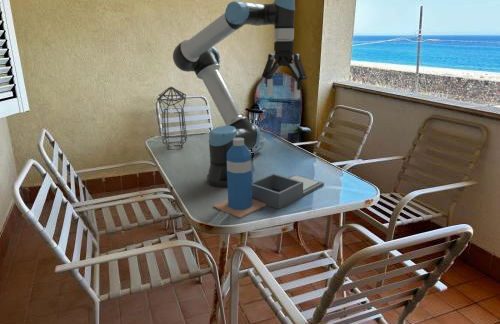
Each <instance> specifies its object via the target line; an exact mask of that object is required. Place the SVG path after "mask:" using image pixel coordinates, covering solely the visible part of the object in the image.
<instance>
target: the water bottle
mask: <svg viewBox="0 0 500 324" xmlns="http://www.w3.org/2000/svg"><path fill="white" fill-rule="evenodd" d="M252 177H253V176H252V154H251V152H250V151H249V149H248V148H247V147H246V145H245V144H244V138H234V139H233V145H232V147H231V148H230V149H229V151H228V152H227V183H228V187H227V199H228V207H230V208H232V209H234V210H245V209H247V208H250V207H252V182H253V180H252Z"/></svg>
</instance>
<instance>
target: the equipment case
mask: <svg viewBox="0 0 500 324" xmlns="http://www.w3.org/2000/svg"><path fill="white" fill-rule="evenodd" d="M323 186H325V182H323V181H319V180H316V179H312V178H308V177H305V176H301V175H297V174H294V175H291V176H289V177H286V176H284V175H283V176H282V175H280V174H275V173H271V174H268V175H266V176H263V177H261V178H259V179H256V180H254V181H252V199H254V200H257V201H260V202H263V203H265V204H267V205H266V206H269V207H272V208H275V209H277V210H280V209H282V208H284V207H286V206H287V205H289V204H292V203H293V202H295V201H297V200H299V199H301V198H303V197H304V196H307V195H308V194H310V193H312V192H314V191H317V190H318V189H320V188H322V187H323ZM273 189H275V190H277V191H275V190H273Z"/></svg>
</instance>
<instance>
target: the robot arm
mask: <svg viewBox="0 0 500 324" xmlns="http://www.w3.org/2000/svg"><path fill="white" fill-rule="evenodd" d="M273 2H274V3H256V2H255V3H254V2H247V1H242V0H233V1H231V2H229V3H228V4H227V6H226V8H225V10H224V11H225V12H224V13H223V14H221V15H220V16H219V17H217V18H216V19H215V20H213V21H212V22H211V23H209V24H207V26H205V27H204V28H203V29H201V30H200V31H199V32H197V33H196V34H195V35H193V36H192V37H191V38H189V39H184V40H183V41H181V42H180V43H179V44H178V45H177V46H176V47H175V49H174V50H173V52H172V60H173V63H174V65H175V66H176V67H177V68H178V69H179V70H180V71H183V72H187V73H189V72H194V73H195V75H196V77H197V79H200V80H202V81H203V84H204V86H205V88H206V90H207V91H208V93H209V95H210V97H211V99H212V101H213V103H214V104H215V107H216V108H217V111H218V112H219V113H220V116H221V118H222V120H223V121H224V124H225V125H222V126H217V127H214V128H213V129H211V130H210V132H209V134H208V146H209V148H208V149H209V161H210V165H209V170H208V173H207V175H206V182H207V184H208V185H209V186H213V187H216V188H228V183H227V152H228V151H229V149H230V148H231V147H232V145H233V139H234V138H244V144H245V145H246V147H247V148H248V149H249V150H251V149H252V148H254V147H256V146H257V145H258V144H259V141H260V136H261V130H260V129H259V127H258V125H257V124H256V123H254V122H253V123H252V122H250V120H249V118H248V117H247V116H244V115H243V114H242V113H241V111H240V109H239V106H238V104H237V103H236V100H235V99H234V97H233V95H232V93H231V91H230V90H229V88H228V86H227V83H226V82H225V80H224V78H223V76H222V75H221V73H220V68H221V66H220V64H221V60H220V58H221V57H220V53H219V51H218V50H217V48H216V47H215V46H216V45H217V44H219V43H220V42H221V41H223V40H224V39H226V38H228V37H229V36H230V35H232V34H233V33H234V32H236V31H238V30H239V29H240V28H242V27H243V26H245V25H251V26H268V25H270V26H271V25H273V26H274V29H273V31H274V33H273V40H274V43H273V50H274V53H268V55H267V60H266V62H265V63H266V64H265V66H264V69H263V72H262V74H261V77H262V78H265V86H266V88H267V90H266V91H267V92H266V93H267V94H266V96H269V97H270V96H274V79H273V76H274V75H275V73H276V72H277V71H278V68H280V67H281V66H282V67H287V68H288V69H289V71H290V72H291V74H292V75H293V77H294V78H295V81H294V93H293V94H294V98H293V99H294V100H297V99H300V98H301V90H302V89H303V81H305V80H307V78H308V77H307V74H306V71H305V69H304V66H303V63H302V61H301V54H300V53H295V54H294V49H295V42H294V41H293V40H294V39H295V11H296V7H295V6H296V3H295V2H296V1H295V0H274V1H273Z"/></svg>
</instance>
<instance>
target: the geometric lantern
mask: <svg viewBox="0 0 500 324" xmlns="http://www.w3.org/2000/svg"><path fill="white" fill-rule="evenodd" d="M168 92H169V93H168ZM166 93H168V94H166ZM170 94H171V95H170ZM158 96H159V97H157V98H156V100H157V102H158V104H159V107H160V110H161V116H162V118H161V119H162V120H161V121H162V122H161V123H162V135H161V136H162V141H161V142H162V144H163V145H165V146H166V147H167V149H168V148H170V149H171V146H169V144H170V145H175V142H173V141H170V136H169V132H167V131H169V107H170V106H173V107H174V108H173V110H176V112H175V114H178V116H179V117H178V118H179V128H180V129H179V131H180V135H177V136H175V135H174V136H171V138H180V140H179V141H176V143H179V144H176V147H181V148H182V147H183V146H184V145H185V143H187V141H188V140H187V138H188V135H187V127H186V126H187V125H186V120H185V110H184V107H185V104H186V99H187V94H186V93H184V92H182V91H180V90H179V89H176V88H175V87H173V86H169V87H168V88H166V89H165V90H164V91H162V92H161V93H160V94H158ZM163 97H164V99H163ZM174 97H175V99H174ZM182 101H183V106H182V105H181V104H180V102H182ZM174 102H175V103H174ZM171 103H172V104H171ZM161 104H162V105H163V108H164V109H162V105H161ZM164 104H165V105H167V107H165V105H164ZM177 104H178V105H179V106H180V108H179V107H176V105H177ZM179 110H180V111H179ZM166 123H167V125H166ZM183 138H184V139H183ZM180 144H181V145H180ZM183 148H184V147H183Z"/></svg>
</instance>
